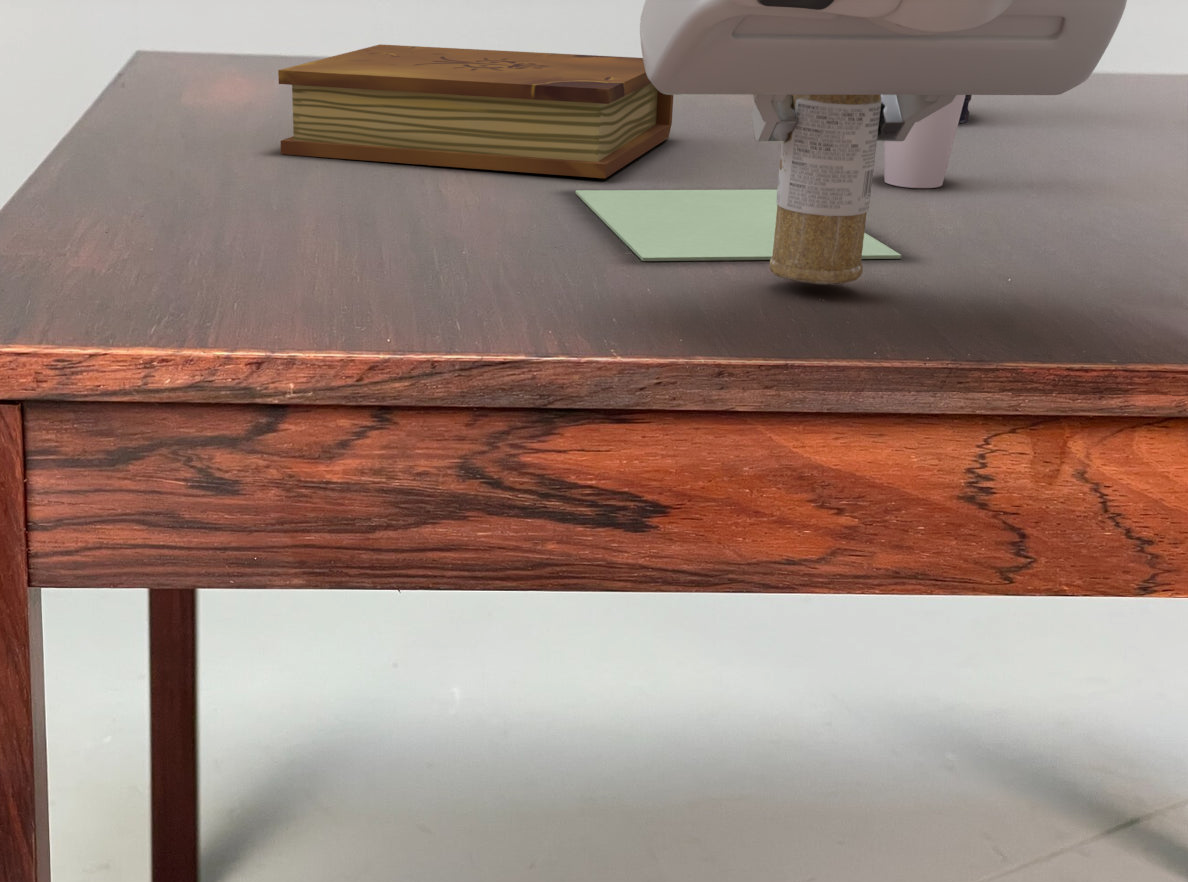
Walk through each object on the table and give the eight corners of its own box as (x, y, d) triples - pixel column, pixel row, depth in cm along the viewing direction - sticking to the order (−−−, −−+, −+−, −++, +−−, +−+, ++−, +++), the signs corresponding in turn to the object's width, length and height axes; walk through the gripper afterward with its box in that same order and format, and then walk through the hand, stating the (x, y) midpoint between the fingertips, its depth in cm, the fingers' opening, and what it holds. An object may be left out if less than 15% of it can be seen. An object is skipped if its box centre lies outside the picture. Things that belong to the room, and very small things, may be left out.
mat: (901, 258, 86) (901, 254, 86) (642, 261, 84) (642, 257, 84) (793, 192, 102) (794, 189, 102) (575, 193, 100) (575, 190, 100)
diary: (670, 138, 121) (676, 58, 118) (605, 181, 104) (610, 89, 102) (383, 117, 127) (383, 40, 125) (280, 154, 111) (278, 66, 109)
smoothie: (891, 193, 103) (920, -42, 97) (846, 174, 108) (871, -48, 103) (982, 190, 104) (1016, -41, 99) (933, 172, 110) (962, -48, 104)
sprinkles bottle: (788, 260, 82) (817, -21, 77) (876, 274, 80) (911, -16, 74) (752, 278, 78) (779, -16, 73) (842, 292, 76) (877, -10, 71)
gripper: (1161, -140, 67) (1019, 75, 79) (676, -151, 64) (609, 74, 77) (1199, -18, 64) (1046, 184, 77) (697, -23, 62) (625, 187, 74)
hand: (825, 129), depth 77 cm, fingers closed on sprinkles bottle, 4 cm apart
